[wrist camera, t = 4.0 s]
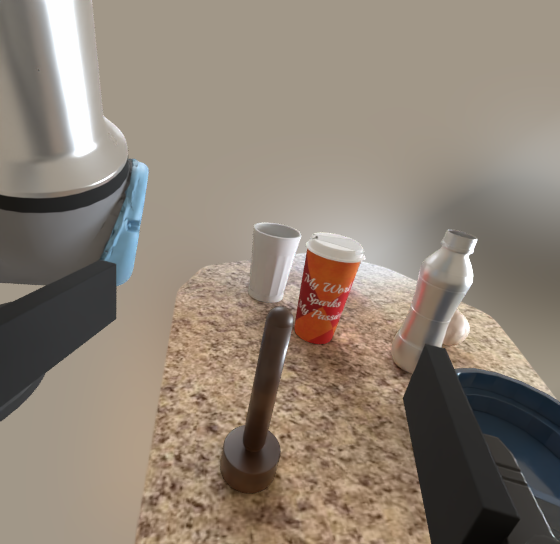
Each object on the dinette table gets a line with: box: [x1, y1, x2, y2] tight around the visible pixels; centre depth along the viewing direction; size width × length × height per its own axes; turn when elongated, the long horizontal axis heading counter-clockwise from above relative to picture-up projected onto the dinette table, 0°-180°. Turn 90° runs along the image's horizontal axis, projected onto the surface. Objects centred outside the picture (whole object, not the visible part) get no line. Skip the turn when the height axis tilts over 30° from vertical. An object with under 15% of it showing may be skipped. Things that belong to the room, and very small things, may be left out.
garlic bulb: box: [442, 309, 469, 346], centre depth 58 cm, size 7×6×8 cm
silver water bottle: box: [391, 229, 477, 374], centre depth 47 cm, size 6×7×20 cm
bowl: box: [454, 368, 560, 542], centre depth 36 cm, size 18×18×6 cm
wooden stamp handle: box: [220, 307, 294, 493], centre depth 28 cm, size 5×5×16 cm
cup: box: [248, 222, 301, 303], centre depth 61 cm, size 8×8×12 cm
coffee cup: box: [295, 232, 365, 344], centre depth 51 cm, size 8×8×15 cm
